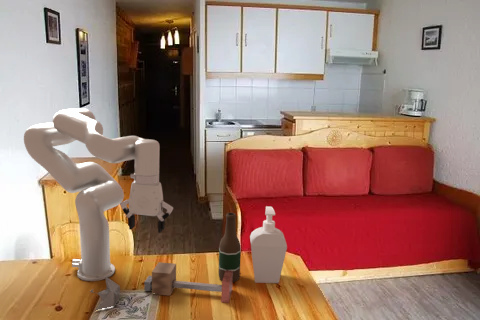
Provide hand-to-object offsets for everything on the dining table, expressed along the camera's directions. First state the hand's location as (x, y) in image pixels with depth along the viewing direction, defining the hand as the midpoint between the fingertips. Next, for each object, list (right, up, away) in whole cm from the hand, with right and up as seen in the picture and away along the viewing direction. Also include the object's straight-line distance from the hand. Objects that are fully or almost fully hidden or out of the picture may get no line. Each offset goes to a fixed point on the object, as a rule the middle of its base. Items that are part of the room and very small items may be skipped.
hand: (146, 229), depth 129 cm
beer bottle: (+27, -20, +13) cm, 35 cm away
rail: (+13, -21, +2) cm, 25 cm away
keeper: (+5, -21, +3) cm, 21 cm away
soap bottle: (+40, -20, +14) cm, 47 cm away
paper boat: (-11, -22, -5) cm, 25 cm away
